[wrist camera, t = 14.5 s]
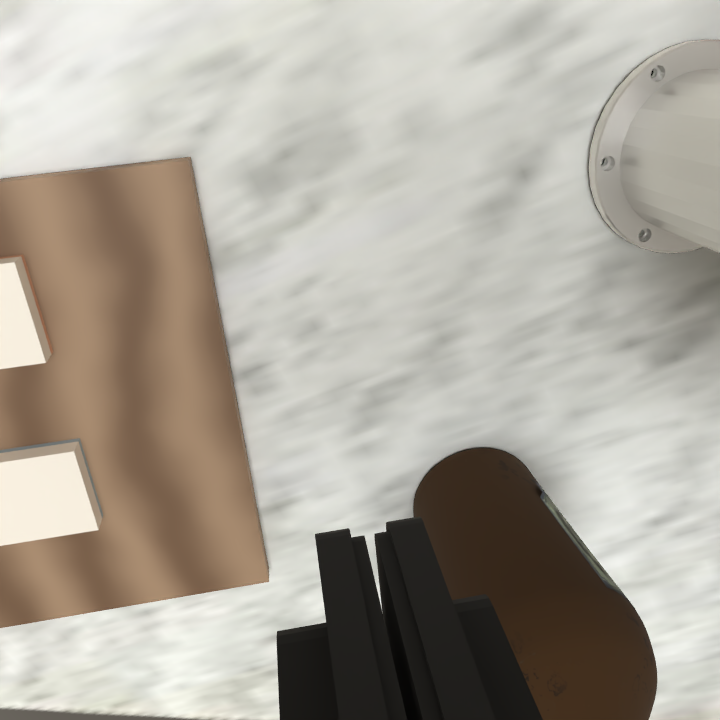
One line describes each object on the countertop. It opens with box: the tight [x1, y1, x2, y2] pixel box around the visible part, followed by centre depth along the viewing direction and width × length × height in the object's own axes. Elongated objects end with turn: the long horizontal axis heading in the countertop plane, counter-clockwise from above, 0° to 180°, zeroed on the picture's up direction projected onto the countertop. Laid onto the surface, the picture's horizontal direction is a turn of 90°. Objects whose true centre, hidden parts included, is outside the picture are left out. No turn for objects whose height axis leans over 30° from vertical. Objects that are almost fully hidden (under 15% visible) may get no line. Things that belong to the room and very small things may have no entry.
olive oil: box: [413, 448, 657, 720], centre depth 40 cm, size 11×11×25 cm
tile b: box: [0, 438, 103, 546], centre depth 44 cm, size 2×6×8 cm
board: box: [0, 157, 269, 628], centre depth 44 cm, size 24×30×2 cm
